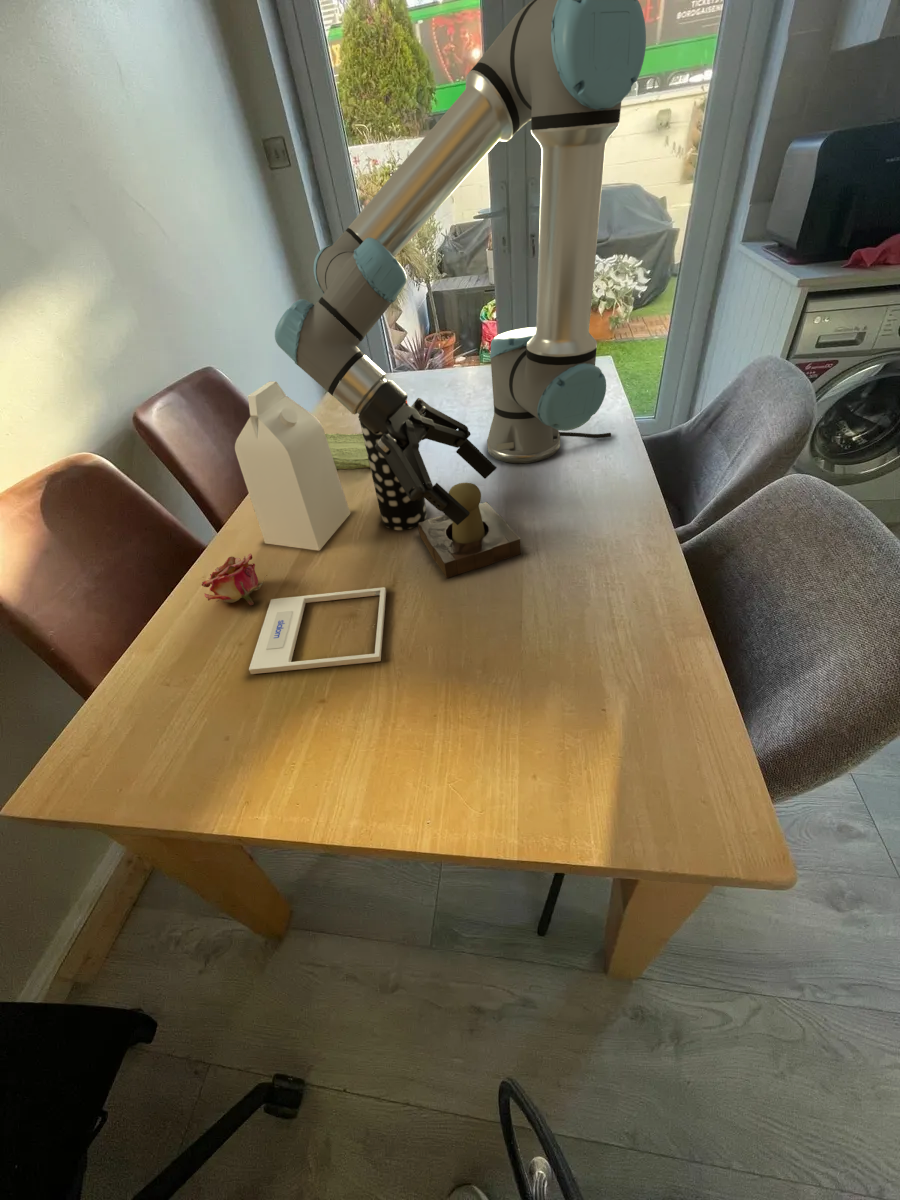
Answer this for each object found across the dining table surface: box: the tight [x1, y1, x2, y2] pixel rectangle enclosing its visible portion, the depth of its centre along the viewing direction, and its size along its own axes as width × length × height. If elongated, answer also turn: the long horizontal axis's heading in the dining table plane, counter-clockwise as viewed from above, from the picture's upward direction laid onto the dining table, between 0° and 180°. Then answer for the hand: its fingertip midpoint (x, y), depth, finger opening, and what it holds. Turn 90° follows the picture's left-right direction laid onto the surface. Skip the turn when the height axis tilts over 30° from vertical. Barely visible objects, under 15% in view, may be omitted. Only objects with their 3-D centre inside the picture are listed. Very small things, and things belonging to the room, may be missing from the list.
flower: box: [201, 553, 268, 607], centre depth 86 cm, size 10×9×8 cm
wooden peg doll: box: [448, 482, 486, 543], centre depth 89 cm, size 6×6×11 cm
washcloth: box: [325, 432, 370, 470], centre depth 122 cm, size 13×18×3 cm
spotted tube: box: [359, 421, 428, 531], centre depth 95 cm, size 8×8×20 cm
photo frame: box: [248, 586, 387, 675], centre depth 80 cm, size 15×1×18 cm
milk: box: [234, 380, 351, 552], centre depth 94 cm, size 12×12×26 cm
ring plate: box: [417, 501, 522, 579], centre depth 92 cm, size 13×13×3 cm
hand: (478, 495), depth 86 cm, fingers open, 13 cm apart
